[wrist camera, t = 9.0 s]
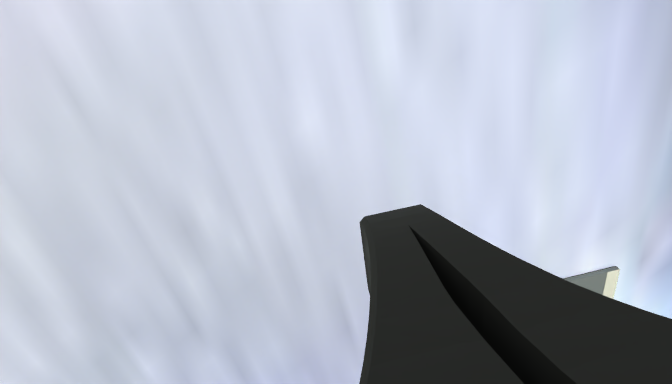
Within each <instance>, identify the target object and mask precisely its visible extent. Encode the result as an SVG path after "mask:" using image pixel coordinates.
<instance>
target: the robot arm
mask: <svg viewBox="0 0 672 384" xmlns="http://www.w3.org/2000/svg"><path fill="white" fill-rule="evenodd" d="M360 228H361V236H362V244H363V252H364V260H365V268H366V276H367V283H368V290H369V293H370V311H369V323H368V333H367V341H366V348H365V355H364V362H363V367H362V373H361V378H360V383H359V384H672V319H670V318H666V317H663V316H660V315H657V314H654V313H651V312H648V311H645V310H642V309H639V308H636V307H634V306H631V305H628V304H625V303H622V302H620V301H617V300H614V299H612V298H609V297H607V296H604V295H602V294H599V293H596V292H594V291H591V290H589V289H586V288H584V287H581V286H579V285H576V284H574V283H571V282H569V281H567V280H564V279H562V278H560V277H557V276H555V275H553V274H551V273H549V272H546V271H544V270H542V269H540V268H538V267H536V266H534V265H532V264H530V263H527V262H525V261H523V260H521V259H519V258H517V257H515V256H513V255H511V254H509V253H507V252H505V251H503V250H501V249H500V248H498V247H496V246H494V245H492V244H490V243H488V242H486V241H485V240H483V239H481V238H479V237H477V236H476V235H474V234H472V233H470V232H468V231H467V230H465V229H463V228H461V227H460V226H458V225H456V224H454V223H453V222H451V221H449V220H448V219H446V218H444V217H442V216H441V215H439V214H437V213H435V212H434V211H432V210H430V209H428V208H426V207H425V206H423V205H421V204H420V205H416V206H411V207H407V208H402V209H397V210H393V211H388V212H383V213H379V214H374V215H370V216H365V217H364V218H363V219H362V220H361V222H360Z"/></svg>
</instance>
